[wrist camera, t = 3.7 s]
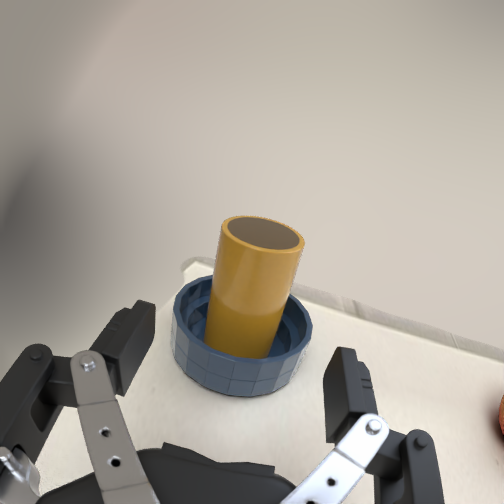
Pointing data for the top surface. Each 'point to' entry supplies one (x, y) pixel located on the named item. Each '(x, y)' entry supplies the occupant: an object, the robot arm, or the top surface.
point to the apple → (501, 415)
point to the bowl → (228, 366)
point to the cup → (251, 285)
